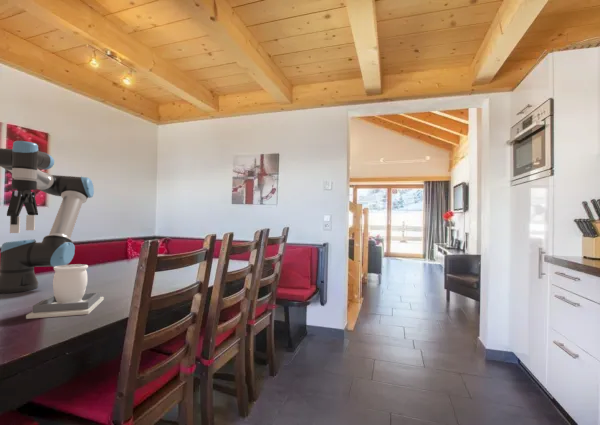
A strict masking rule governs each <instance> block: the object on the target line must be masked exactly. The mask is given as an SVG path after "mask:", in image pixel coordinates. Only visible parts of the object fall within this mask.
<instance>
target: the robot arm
mask: <svg viewBox="0 0 600 425" xmlns="http://www.w3.org/2000/svg"><path fill="white" fill-rule="evenodd" d="M12 143H13V144H12V149H11V148H1V147H0V167H1V168H3V169H5V170H6V171H9V172H10V173H11V178H12V180H11V185H10V186H11V187H10V188H11V189H12V191H11V197H10V201H9V204H8V205H9V206H7V207H8V209H7V211H6V216H7V217H9V218H10V219H9V220H10V221H9V234H20V233H21V216H20V214H21V211H22V209H23V207H24V208H25V211H26V213H27V214H26V215H25V216H26V217H25V221H26V222H25V231H36V230H35V229H36V228H35V227H36V216H38V215H39V211H38V206H37V201H36V193H35V192H34V191H36V190H39V191H41V192H42V193H45V194H48V195H52V196H55V197H60V198H61V199H62V201H61V203H60V206H59V208H58V210H57V213H56V216H55V218H54V221H53V224H52V226H51V229H50V231H49V234H48V235H45V236H44V237H43V238H42V241H41V242H37V241H36V239H24V240H15V241H13V240H12V241H7V242H4V243H2V244H1V248H0V294H12V293H21V292H28V291H32V290H35V289H38V288H39V282H38V278H37V276H36V273H35V268H37V267H38V268H39V267H41V268H42V267H44V268H47V267H52V268H54V267H55V266H61V265H70V263H71V262H72V260H73V259H74V257H75V250H76V245H75V244H74V243H73V241H72V239H71V237H72V235H73V232H74V228H75V225H76V224H77V223H76V222H77V220H78V217H79V213H80V210H81V208H82V205H83V204H85V203H86V202H87V200H88V199H91V198H93V197H94V193H95V188H94V183H93V181H92V179H91V178H90V177H87V176H86V177H85V176H72V175H71V176H69V175H58V174H56V175H55V174H51V173H50V172H49V173H48V172H43V171H42V170H45V171H46V170H50V169H51V168H53V166H54V165H55V159H54V157H53V156H52V155H50V154H48V153H47V152H43V151H40V150H39V146H38V144H37V143H36V142H31V141H24V140H15V141H14V142H12ZM32 191H33V192H32Z"/></svg>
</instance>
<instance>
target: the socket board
mask: <svg viewBox="0 0 600 425" xmlns="http://www.w3.org/2000/svg"><path fill="white" fill-rule="evenodd" d="M104 299H105V297H104V296H101V292H85V294H84V296H83V298H82V300H83V302H73V303H57V301H56V299H55V296H54V294H51V295H49V296H48V297H46V298H43V300H41V301H39V302H37V303H36V304H34V305H32V311H31V312H29V313H27V314H26V315H25V319H26V320H28V319H39V318H42V319H43V318H51V317H52V318H54V317H57V318H58V317H65V316H66V317H67V316H81V315H83V316H84V315H90V313H91V312H92V311H93V310H94V309H96V308H97V307H98V306H99V305H100V303H102V302H103V301H104ZM56 303H57V304H56Z"/></svg>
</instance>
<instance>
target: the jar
mask: <svg viewBox="0 0 600 425" xmlns="http://www.w3.org/2000/svg"><path fill="white" fill-rule="evenodd" d="M88 268H89V265H88V264H81V263H76V264H75V263H74V264H70V263H69V264H67V265H61V266H55V267H53V270H54V272H55V273H54V275H53V280H52V288H53V295H54V296H55V299H56V301H57V303H73V302H83V300H82V298H83V296H84V294H85V293H86V289H87V286H88V271H87V269H88ZM57 303H56V304H57Z"/></svg>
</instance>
